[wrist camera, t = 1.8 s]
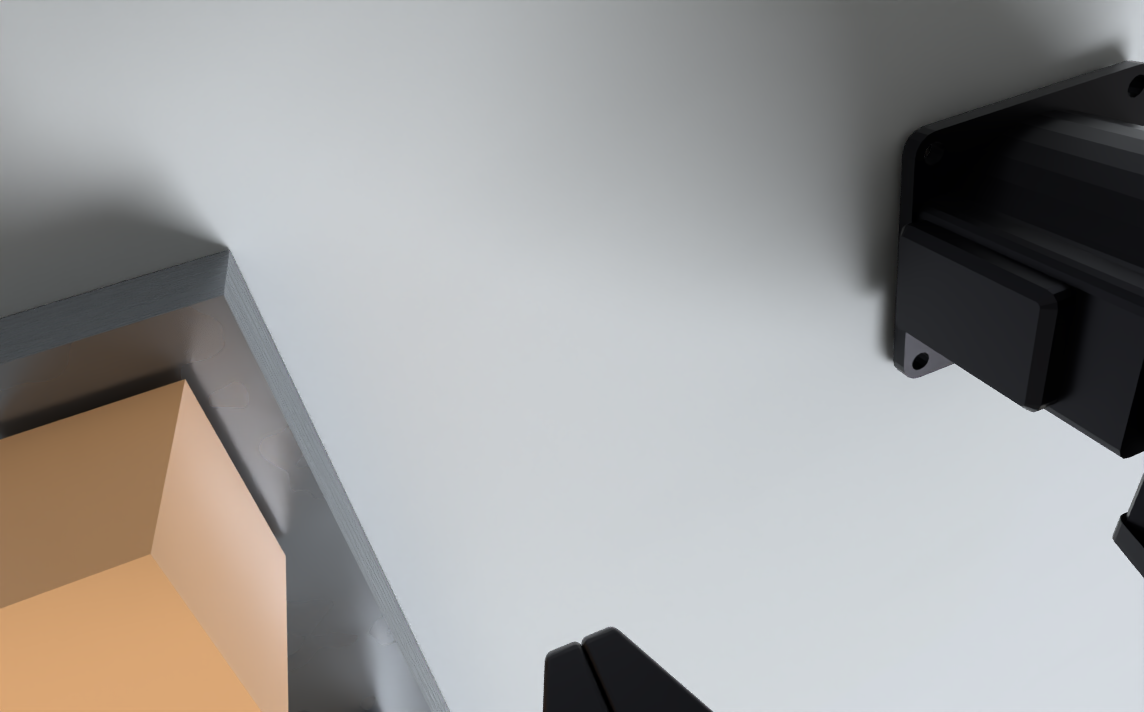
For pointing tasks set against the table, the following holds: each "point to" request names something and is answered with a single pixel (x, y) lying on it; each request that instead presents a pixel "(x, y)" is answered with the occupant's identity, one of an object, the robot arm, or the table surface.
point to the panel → (233, 459)
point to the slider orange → (136, 567)
